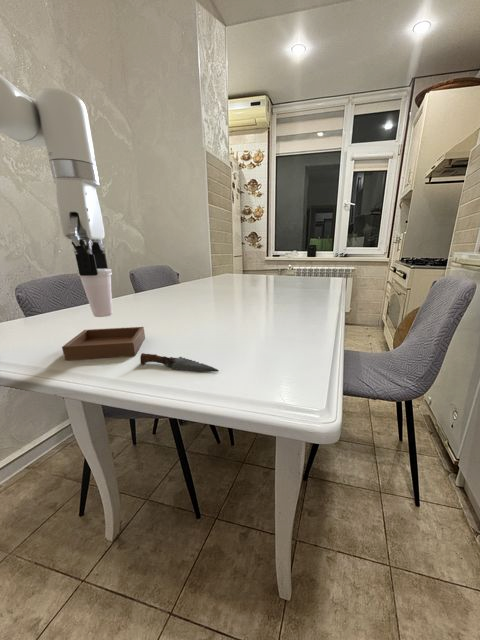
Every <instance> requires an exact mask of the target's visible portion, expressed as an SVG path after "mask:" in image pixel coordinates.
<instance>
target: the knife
mask: <svg viewBox="0 0 480 640" xmlns="http://www.w3.org/2000/svg"><path fill="white" fill-rule="evenodd" d="M139 361H140V365H144V364H147V363H158V364H162V365H164V366H166V367H170V368H171V370H178V371H181V370H182V371H195V372H201V373H203V372H204V373H206V372H207V373H208V372H209V373H210V372H219V369H218V368H215V367H213V366H210V365H208V364H205V363H200V362H199V361H196V360H192V359H189V358H186V357H182V356H179V357H174V356H173V357H172V356H170V357H168V356H161V355H158V354H156V353H154V354H152V353H145V352H141V354H140V359H139Z"/></svg>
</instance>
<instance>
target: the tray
mask: <svg viewBox="0 0 480 640" xmlns="http://www.w3.org/2000/svg"><path fill="white" fill-rule="evenodd" d="M145 339H146V335H145V327H144V326H132V327H129V326H128V327H111V328H90V329H84V330H82V331H81V332H79V333H78V334H77V335H75V336H74V337H73V338H71V339H70V340H69V341H68V342H67V343H65V344H63V346H61V349H62V353H63V357H64V360H65V361H76V360H77V361H78V360H79V361H80V360H93V359H107V358H121V357H122V358H123V357H136V355H137V353H138V352H139V350H140V348H141V346H142V345H143V343H144V341H145Z"/></svg>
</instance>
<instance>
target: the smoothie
mask: <svg viewBox="0 0 480 640" xmlns="http://www.w3.org/2000/svg"><path fill="white" fill-rule="evenodd" d="M97 271H98V275H96V276H81V275H80V274H79V270H76V272H77V276H79V278H80V280H81V284H82V287H83V289H84V292H85V295H86V299H87V301H88V304H89V306H90V310H91V312H92V316H93V318H94V317H95V318H105V317H106V318H107V317H110V316H112V315H113V294H112V275H113V271H112V269H111V268H108V269H97Z"/></svg>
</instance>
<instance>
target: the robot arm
mask: <svg viewBox="0 0 480 640" xmlns="http://www.w3.org/2000/svg"><path fill="white" fill-rule="evenodd" d="M0 133H1V134H2V135H4V136H6V137H8V138H9V139H11V140H13V141H16V142H17V143H19V144H21V145H24V146H27V147H30V148H41V147H42V148H43V147H45V148H46V152H47V156H48V161H49V166H50V170H51V176H52V179H53V183H54V184H55V194H56V202H57V208H58V214H59V221H60V225H61V230H62V235H63V237H64V238H65V239H66V240H71V245H72V246H73V253H74V256H75V261H76V264H77V269H78V270H79V274H80V275H81V276H96V275H98V271H97V269H109V268H108V262H107V261H108V260H107V256H106V249H105V246H104V240H103V239H105V236H106V233H105V225H104V220H103V215H102V209H101V206H100V201H99V197H98V193H97V192H98V191H97V189H96V188H100V187H101V185H100V178H99V173H98V172H99V171H98V168H97V167H98V166H97V162H96V157H95V149H94V143H93V137H92V132H91V126H90V119H89V115H88V110H87V106H86V104H85V103H84V101H83V100H82V99H81V98H80V97H79V96H77V95H76V94H74V93H72V92H69V91H66V90H63V89H60V88H53V87H47V88H41V89H40V90H38V91H37V93H36V95H35V98H33V97H31V96H29V95H27V94H26V93H24V92H22V90H20V89H19V87H16V86H15V85H14V84H13V83H12V82H10V81H9V80H7V78H5V77H4V76H3V75H1V74H0ZM78 270H77V271H78Z"/></svg>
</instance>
